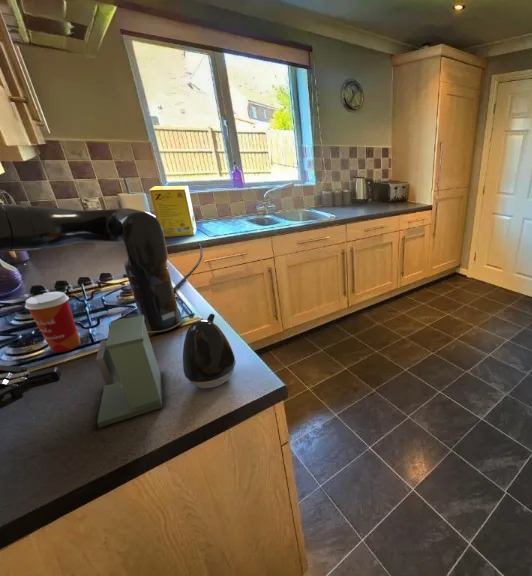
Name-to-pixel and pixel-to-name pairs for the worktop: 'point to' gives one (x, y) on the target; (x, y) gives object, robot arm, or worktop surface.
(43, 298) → the paper cup
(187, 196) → the packaging box
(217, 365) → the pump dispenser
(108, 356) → the plate
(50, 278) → the worktop surface
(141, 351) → the dispenser housing
